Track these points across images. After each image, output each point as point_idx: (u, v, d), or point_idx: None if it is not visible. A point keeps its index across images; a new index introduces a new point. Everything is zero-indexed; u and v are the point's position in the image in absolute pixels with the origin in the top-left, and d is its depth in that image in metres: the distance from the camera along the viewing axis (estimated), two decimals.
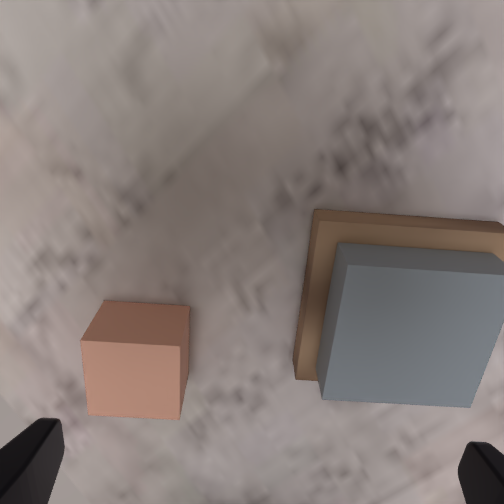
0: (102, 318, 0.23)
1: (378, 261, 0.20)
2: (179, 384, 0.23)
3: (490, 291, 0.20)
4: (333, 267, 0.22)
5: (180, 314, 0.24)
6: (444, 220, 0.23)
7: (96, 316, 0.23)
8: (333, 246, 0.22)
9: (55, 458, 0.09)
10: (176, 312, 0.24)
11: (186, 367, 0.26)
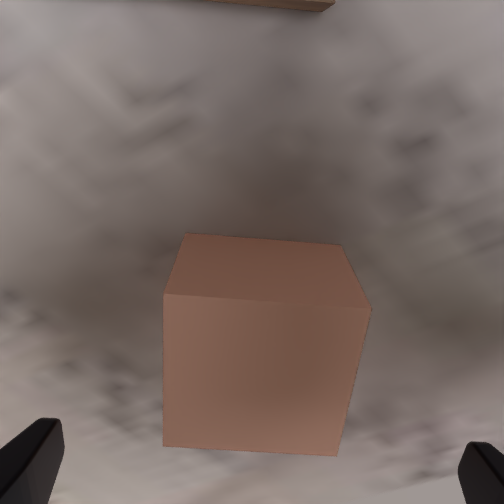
0: None
1: None
2: (270, 300, 0.10)
3: None
4: None
5: None
6: None
7: None
8: None
9: (55, 458, 0.09)
10: None
11: (301, 256, 0.13)
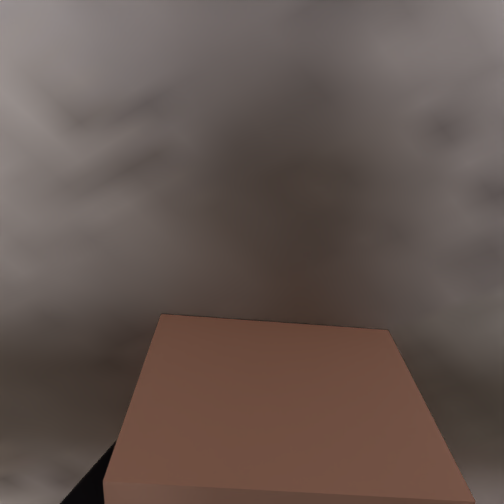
0: None
1: None
2: (295, 487, 0.06)
3: None
4: None
5: None
6: None
7: None
8: None
9: None
10: None
11: (336, 363, 0.08)
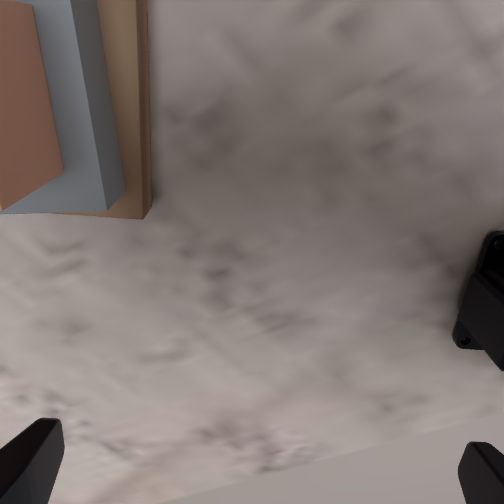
0: None
1: None
2: None
3: None
4: None
5: None
6: None
7: None
8: None
9: (55, 458, 0.09)
10: None
11: None
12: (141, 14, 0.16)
